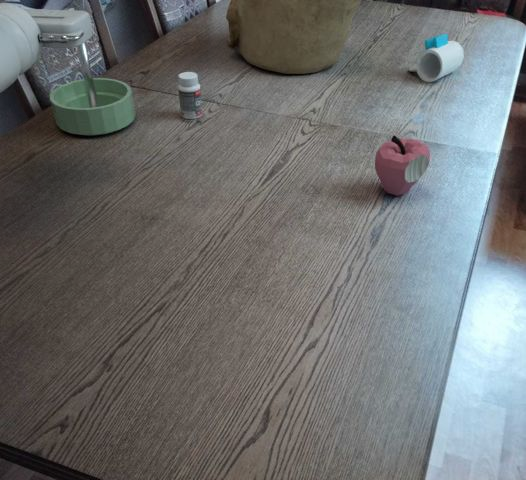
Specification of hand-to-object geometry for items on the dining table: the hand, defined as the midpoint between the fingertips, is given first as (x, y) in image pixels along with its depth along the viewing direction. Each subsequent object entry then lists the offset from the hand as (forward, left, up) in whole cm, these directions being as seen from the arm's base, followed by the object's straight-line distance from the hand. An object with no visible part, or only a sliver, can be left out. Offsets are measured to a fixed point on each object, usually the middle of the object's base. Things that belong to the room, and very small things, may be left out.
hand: (44, 12), depth 93 cm
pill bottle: (+8, +25, -24) cm, 36 cm away
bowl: (-6, +10, -24) cm, 27 cm away
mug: (+39, +81, -24) cm, 93 cm away
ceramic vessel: (+3, +69, -24) cm, 73 cm away
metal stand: (-6, +10, -23) cm, 26 cm away
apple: (+59, +24, -24) cm, 68 cm away
